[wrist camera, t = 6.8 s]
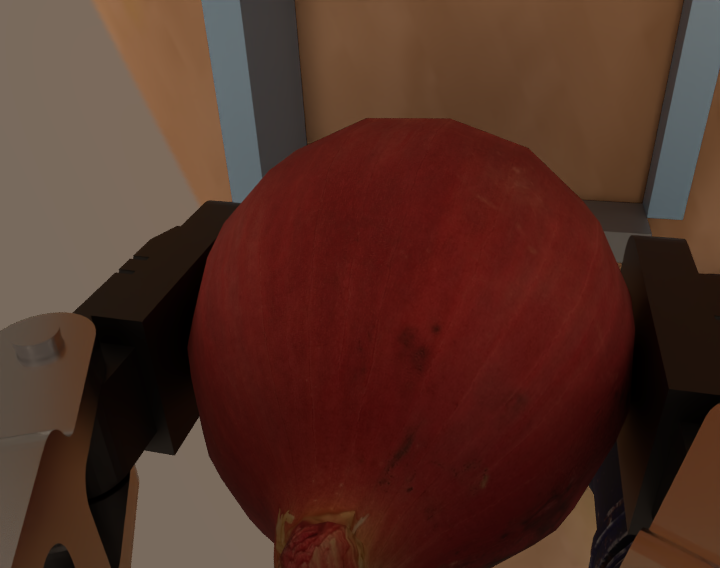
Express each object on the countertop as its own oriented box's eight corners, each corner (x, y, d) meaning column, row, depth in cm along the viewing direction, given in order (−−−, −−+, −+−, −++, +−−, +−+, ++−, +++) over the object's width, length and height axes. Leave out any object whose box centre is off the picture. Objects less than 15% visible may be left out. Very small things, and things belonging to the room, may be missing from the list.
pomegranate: (684, 229, 11) (879, 740, 5) (447, 392, 14) (361, 840, 8) (438, -22, 10) (236, 184, 4) (237, 214, 13) (-73, 558, 7)
